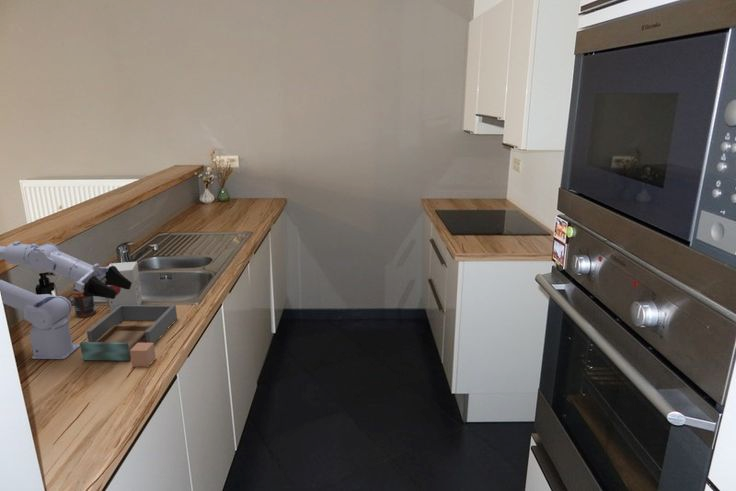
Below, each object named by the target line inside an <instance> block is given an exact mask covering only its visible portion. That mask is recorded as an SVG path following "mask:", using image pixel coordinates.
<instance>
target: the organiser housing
mask: <svg viewBox="0 0 736 491" xmlns="http://www.w3.org/2000/svg"><path fill="white" fill-rule="evenodd" d="M176 319H177V320H178V315H177V307H176V304H141V305H119V306H117V307H116V308H115V309H114V310H112V311H110V312H109V313H107V314H106V315H105V316H104V317H102V318H101V319H100V320H99V321H97V322H96V323H95V324H94V325H93V326H91V327H90V328H89V329H87V331H86V334H87V336H86V337H87V340H88V341H87V342H95V341H96V340H97V339H99V338H100V337H101V336H102V335H103V334H104V333H105V332H107V331H108V330H109V329H110V328H111V327H112V326H114V325H121V324H122V323H123V322H124V321H132V322H133V321H134V322H135V321H139V322H140V321H142V322H143V321H146V322H147V321H148V322H151V321H154V322H153V323H152V324H151V325H152V326H151V327H150V328H149V329H148V330H147V331H146V332H145V335H146V341H145V343H155V342H156V341H157V340H158V338H159V337H160V336H161V335H162V334H163V333H164V332H165V331H166V330H167V329H168V327H169V326H170V325H171V324H172V323H173V322H174V321H175V320H176ZM177 320H176V321H177ZM176 321H175V322H176ZM175 322H174V323H175ZM174 323H173V324H174ZM168 330H169V329H168ZM168 330H167V331H168ZM167 331H166V332H167ZM166 332H165V333H166ZM165 333H164V334H165ZM164 334H163V335H164ZM158 341H159V340H158ZM158 341H157V342H158ZM157 342H156V343H157ZM156 343H155V344H156Z"/></svg>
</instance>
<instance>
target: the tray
mask: <svg viewBox="0 0 736 491" xmlns="http://www.w3.org/2000/svg"><path fill="white" fill-rule="evenodd" d="M152 325H153V324H119V325H114V326H112V327H111V328H110V329H109V330H108V331H107V332H105V333H104V334H103V335H102V336H101V337H100V338H99V339H97V340H96V341H95V342H88V341H81V342H80V343H79V344H80V347H79V348H80V352H81V358H82V360H83V361H124V362H127V361H130V360H131V355H130V350H131V349H132V348H133V347H134V346H135V345H136V344H137V343H146V335H145V332H146V331H147V330H148V329H149V328H150V327H151V326H152Z"/></svg>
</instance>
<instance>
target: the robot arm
mask: <svg viewBox="0 0 736 491" xmlns="http://www.w3.org/2000/svg"><path fill="white" fill-rule="evenodd" d="M0 260H4V261H5V262H6V263H7V264H9V265H13V266H15V265H17V266H29V267H33V268H34V270H35V271H40V272H41V271H48V272H51V273H55V274H56V275H58V276H61V277H64V278H66V279H67V280H70V281H73V282H74V283H75V282H76V284H75V287H74V286H73V289H76V290H78V291H83V290H84V293H83V295H84V296H86V297H88V296H93V297H101V298H106V299H109V298H110V299H115V297H116V294H117V291H116V290H114V289H112V288H111V287H109V286H107V285H112V286H117V287H120V288H123V289H128V290H129V289H130V287H131V284H132V282H130V281H129V280H128V279H127V278H125V277H124V276H123V275H122V274H121V273H120V272H119V271H118V269H117V268H116V267H115V266H111V267H108V266H109V265H108V266H100V264H99V263H95V264H91V263H88V262H85V261H83V260H81V259H78V258H77V257H74V256H72V255H70V254H67V253H65V252H62V250H61V248H60V247H59V246H58V245H57V244H55V243H51V242H45V243H44V244H42V245H38V243H31V244H28V243H27V244H26V243H21V241H19V240H17V241H14V242H12V243H9V244H8V245H7V246H3V245H0ZM105 278H106V279H105ZM102 279H105V283H104V282H102V281H101V280H102ZM0 290H1V293H2V298H3V303H2V304H4V305H7V306H9V307H12V308H14V309H16V310H19V311H21V312H23V319H24V320H25V321H26V322H29V323H30V324H31V325H33V326H32V327H31V329H30V332H29V339H30V344H31V350H32V353H33V354H32V355H33V356H32V357H31V359H33V360H35V359H36V360H45V359H46V360H65V359H66V358H68V357H69V356H70V355H71V354H73V353H74V352H75V351H76V350H77V349H78V348H81V347H80V343H77V344H76V343H73V339H72V338H73V337H72V332H71V329H70V324H69V323H70V322H69V320H70V317H69V316H70V314H71V313H72V311H73V310H72V309H73V306H72V305H73V304H72V303H71V301H70V300H69V299H68V298H66V297H64V296H63V295H52V294H50V293H45V294H43V293H42V294H36V293H34V292H32V291H29V290H27V289H24V288H22V287H20V286H17V285H14V284H12V283H9V282H8V281H5V280H3V279H0Z"/></svg>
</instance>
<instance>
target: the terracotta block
mask: <svg viewBox="0 0 736 491" xmlns="http://www.w3.org/2000/svg"><path fill="white" fill-rule="evenodd" d="M155 351H156V349H155V344H154V343H147V342H144V343H137V344H136V345H135V346H134V347H133V348H132V349H131V350H130V355H131V359H130V360H131V367H132V368H137V367H136V366H149V365H150V363H151V362H152V361H153V360H154V359H155V357H156V352H155ZM156 358H157V357H156ZM155 360H156V359H155ZM134 366H135V367H134ZM150 366H151V365H150ZM150 366H149V367H150Z"/></svg>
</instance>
